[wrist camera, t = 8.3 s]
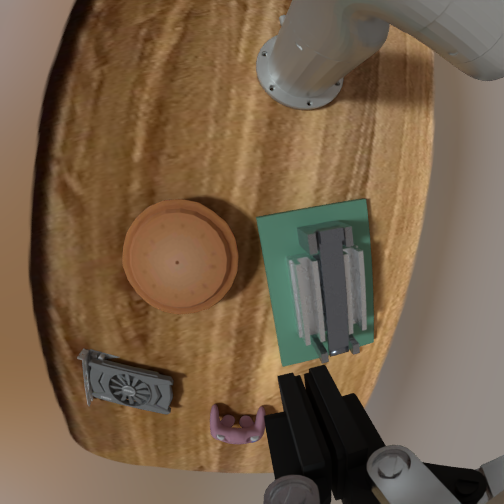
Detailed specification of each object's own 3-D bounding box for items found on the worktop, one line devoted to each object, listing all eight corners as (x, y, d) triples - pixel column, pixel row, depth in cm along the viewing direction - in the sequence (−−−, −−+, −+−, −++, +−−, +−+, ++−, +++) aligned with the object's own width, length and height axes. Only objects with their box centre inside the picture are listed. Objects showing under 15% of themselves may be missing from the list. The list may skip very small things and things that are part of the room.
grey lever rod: (315, 228, 37) (319, 231, 35) (337, 224, 37) (343, 227, 35) (327, 353, 41) (331, 361, 40) (346, 348, 42) (351, 355, 40)
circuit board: (256, 217, 41) (256, 218, 40) (362, 198, 42) (365, 199, 41) (281, 362, 47) (282, 366, 46) (370, 338, 48) (373, 342, 47)
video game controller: (210, 410, 50) (208, 444, 45) (210, 402, 48) (209, 438, 42) (262, 412, 52) (263, 446, 46) (266, 404, 49) (268, 440, 43)
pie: (225, 313, 44) (225, 328, 40) (125, 292, 42) (114, 305, 37) (248, 210, 41) (252, 214, 36) (139, 188, 39) (128, 190, 34)
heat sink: (281, 230, 41) (290, 238, 35) (349, 217, 41) (367, 223, 36) (298, 346, 45) (307, 367, 40) (357, 331, 46) (372, 348, 40)
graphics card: (83, 406, 43) (76, 357, 41) (89, 394, 47) (83, 345, 44) (169, 427, 46) (173, 380, 43) (172, 414, 49) (176, 367, 47)
